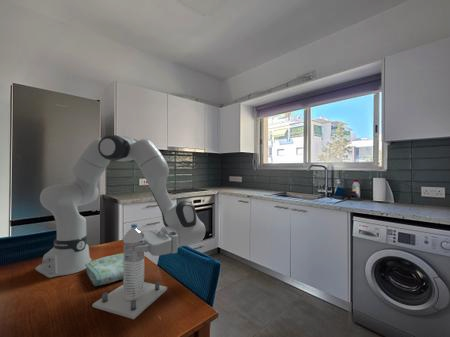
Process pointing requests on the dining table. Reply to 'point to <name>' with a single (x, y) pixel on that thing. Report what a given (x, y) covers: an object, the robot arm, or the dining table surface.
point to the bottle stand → (129, 309)
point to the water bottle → (133, 265)
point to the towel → (106, 269)
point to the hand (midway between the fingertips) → (130, 245)
